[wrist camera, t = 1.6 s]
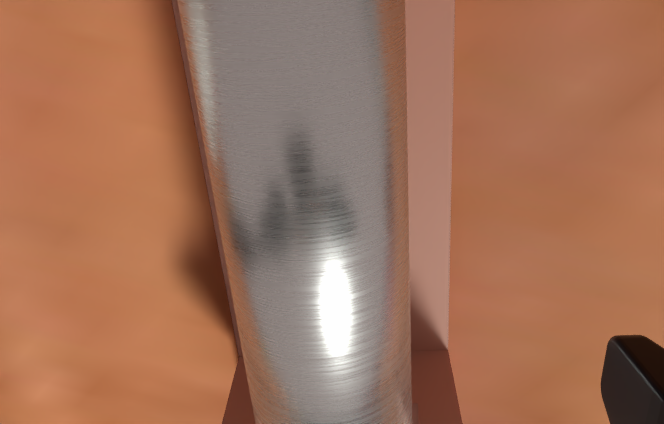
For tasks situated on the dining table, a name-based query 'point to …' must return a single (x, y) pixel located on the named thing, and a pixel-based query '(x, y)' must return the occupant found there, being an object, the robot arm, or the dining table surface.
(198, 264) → the dining table surface
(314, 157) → the pin
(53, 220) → the dining table surface
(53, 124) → the dining table surface
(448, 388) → the hitch bracket
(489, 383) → the dining table surface
